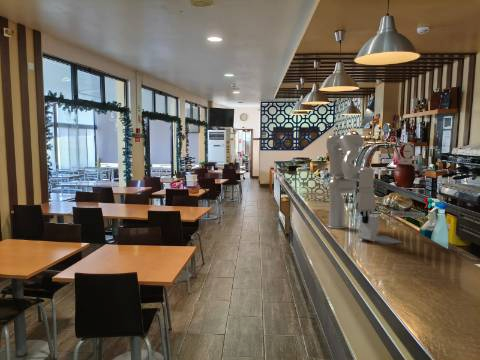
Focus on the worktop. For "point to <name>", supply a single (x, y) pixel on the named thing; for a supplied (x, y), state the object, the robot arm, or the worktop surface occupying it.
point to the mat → (386, 240)
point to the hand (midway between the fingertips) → (365, 222)
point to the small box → (368, 229)
